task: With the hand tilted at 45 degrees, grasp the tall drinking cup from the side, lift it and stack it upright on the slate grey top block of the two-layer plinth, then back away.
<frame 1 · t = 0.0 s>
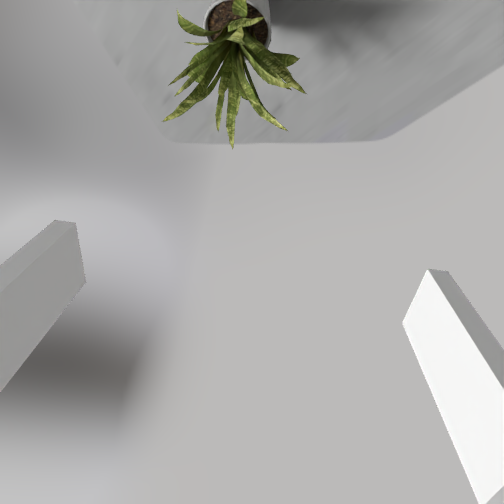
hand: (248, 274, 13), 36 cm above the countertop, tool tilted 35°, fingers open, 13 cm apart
house plant: (239, 4, 39), on the countertop
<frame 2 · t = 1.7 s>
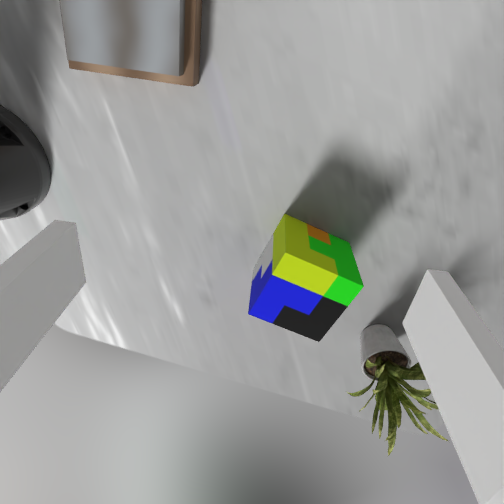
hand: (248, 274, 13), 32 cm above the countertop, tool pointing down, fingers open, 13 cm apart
house plant: (379, 340, 58), on the countertop
puzzle toy: (299, 255, 50), on the countertop
two-layer plinth: (138, 4, 36), on the countertop
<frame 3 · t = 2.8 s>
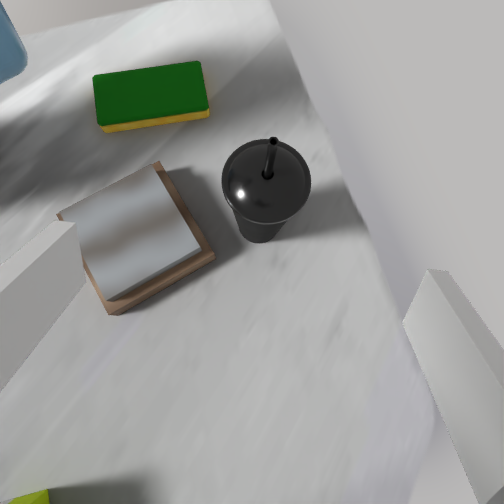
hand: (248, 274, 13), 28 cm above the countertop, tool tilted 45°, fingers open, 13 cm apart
two-layer plinth: (142, 240, 42), on the countertop
dish sponge: (155, 104, 47), on the countertop
drinking cup: (258, 225, 43), on the countertop
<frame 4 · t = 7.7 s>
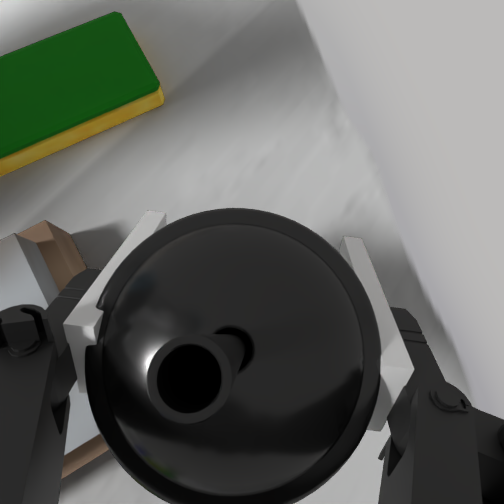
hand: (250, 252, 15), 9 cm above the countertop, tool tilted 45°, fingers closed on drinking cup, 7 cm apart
two-layer plinth: (15, 373, 21), on the countertop
dish sponge: (64, 108, 26), on the countertop
drinking cup: (244, 339, 22), on the countertop, touching gripper
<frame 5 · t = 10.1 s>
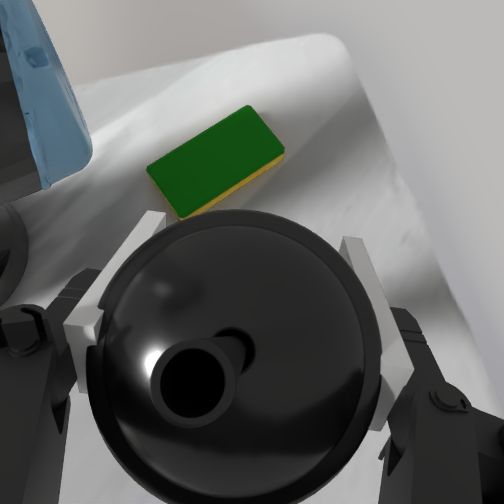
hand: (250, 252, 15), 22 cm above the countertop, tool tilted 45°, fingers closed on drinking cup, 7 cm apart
dish sponge: (218, 169, 40), on the countertop
drinking cup: (245, 340, 22), point 14 cm above the countertop, touching gripper
when the fingers open (15 cm above the countertop, at t = 12.7 s): drinking cup drops 2 cm, resting on two-layer plinth.
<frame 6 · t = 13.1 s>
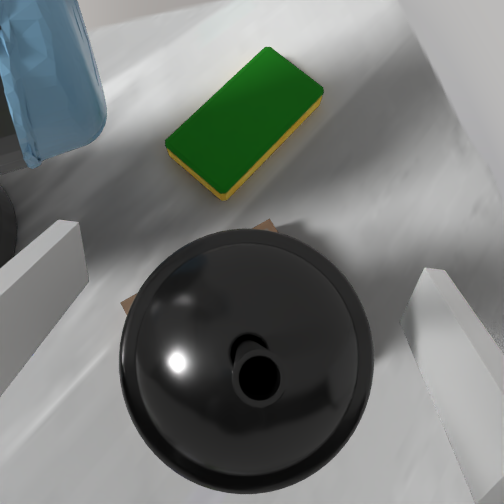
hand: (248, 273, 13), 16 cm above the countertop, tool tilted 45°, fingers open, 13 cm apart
dish sponge: (246, 131, 33), on the countertop
drinking cup: (243, 340, 24), point 5 cm above the countertop, touching two-layer plinth
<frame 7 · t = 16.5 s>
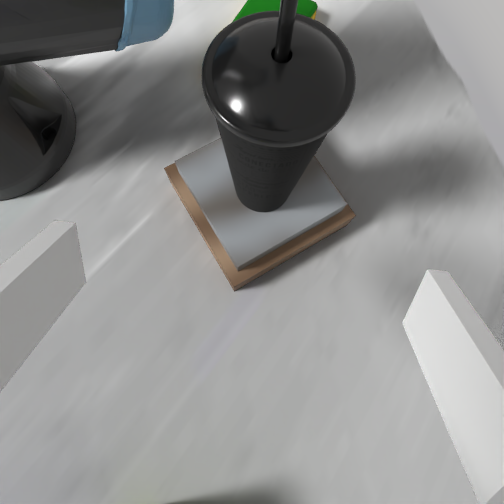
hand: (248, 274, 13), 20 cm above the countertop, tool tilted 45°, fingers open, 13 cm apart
two-layer plinth: (257, 203, 35), on the countertop
dish sponge: (260, 52, 40), on the countertop
drinking cup: (262, 187, 31), point 5 cm above the countertop, touching two-layer plinth
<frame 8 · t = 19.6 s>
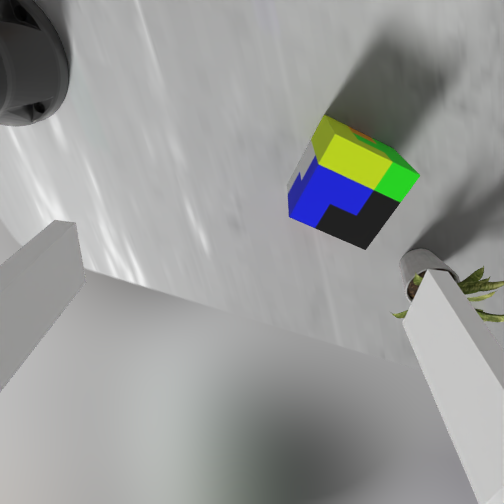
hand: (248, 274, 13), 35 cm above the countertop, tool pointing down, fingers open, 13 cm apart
house plant: (419, 268, 54), on the countertop
puzzle toy: (338, 166, 46), on the countertop
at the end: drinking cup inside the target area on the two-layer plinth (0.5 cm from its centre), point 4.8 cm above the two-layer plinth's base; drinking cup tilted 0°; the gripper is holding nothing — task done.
